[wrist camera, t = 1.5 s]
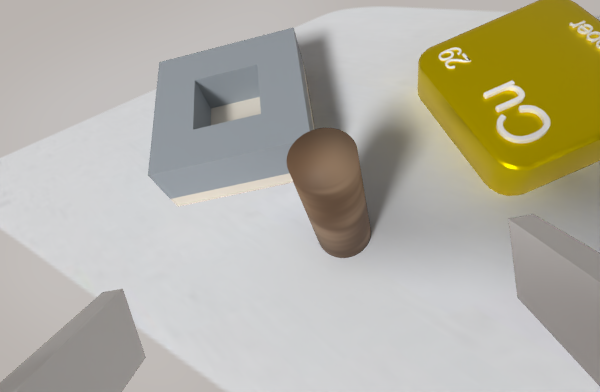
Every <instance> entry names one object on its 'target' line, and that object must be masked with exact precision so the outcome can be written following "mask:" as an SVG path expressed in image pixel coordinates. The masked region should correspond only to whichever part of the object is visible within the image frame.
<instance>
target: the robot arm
mask: <svg viewBox="0 0 600 392" xmlns="http://www.w3.org/2000/svg"><path fill="white" fill-rule="evenodd" d="M509 228H510V237H511V246H512V254H513V263H514V272H515V281H516V289H517V297H518V299H519V300H520V301H521V302H522V303H523V304H524V305H525V306H526V307H527V308H528V309H529V310H530V311H531V313H532V314H533V315H534V316H535V317H536V318H537V319H538V320H539V321H540V322H541V323H542V324H543V326H544V327H545V328H546V329H547V330H548V331H549V332H550V333H551V334H552V335H553V336H554V337H555V338H556V340H557V341H558V342H559V343H560V344H561V345H562V346H563V347H564V348H565V349H566V350H567V351H568V353H569V354H570V355H571V356H572V357H573V358H574V359H575V360H576V361H577V362H578V363H579V364H580V365H581V367H582V368H583V369H584V370H585V371H586V372H587V373H588V374H589V375H590V376H591V377H592V378H593V379H594V381H595V382H596V383H597V384H598V385H599V386H600V253H599V252H597V251H595V250H594V249H592V248H590V247H589V246H587V245H585V244H583V243H582V242H580V241H578V240H577V239H575V238H573V237H572V236H570V235H568V234H567V233H565V232H563V231H561V230H560V229H558V228H556V227H555V226H553V225H551V224H550V223H548V222H546V221H544V220H543V219H541V218H539V217H538V216H536V215H534V214H531V215H526V216H520V217H515V218H509ZM144 359H145V354H144V351H143V348H142V345H141V342H140V339H139V336H138V333H137V330H136V327H135V324H134V321H133V318H132V315H131V312H130V309H129V306H128V303H127V300H126V297H125V294H124V291H123V289H119V290H113V291H108V292H103V293H101V294H100V295H99V296H98V297H97V298H96V299H95V300H93V301H92V302H91V303H90V304H89V305H88V306H87V307H85V309H83V310H82V311H81V312H80V313H79V314H78V315H76V316H75V317H74V318H73V319H72V320H71V321H70V322H69V323H67V324H66V325H65V326H64V327H63V328H62V329H61V330H59V331H58V332H57V333H56V334H55V335H54V336H53V337H51V338H50V339H49V340H48V341H47V342H46V343H45V344H43V345H42V347H40V348H39V349H38V350H37V351H36V352H35V353H33V354H32V355H31V356H30V357H29V358H28V359H27V360H25V361H24V362H23V363H22V364H21V365H20V366H19V367H17V368H16V369H15V370H14V371H13V372H12V373H11V374H9V375H8V376H7V377H6V378H5V379H4V380H3V381H2V382H0V392H122V391H123V389H124V388H125V386H126V385H127V384H128V382H129V381H130V379H131V378H132V376H133V375H134V373H135V372H136V371H137V369H138V368H139V366H140V365H141V363H142V362H143V360H144Z"/></svg>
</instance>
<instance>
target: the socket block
mask: <svg viewBox="0 0 600 392" xmlns="http://www.w3.org/2000/svg"><path fill="white" fill-rule="evenodd" d="M312 130H315V128H314V122H313V116H312V110H311V104H310V97H309V91H308V85H307V79H306V73H305V68H304V64H303V61H302V57H301V53H300V50H299V46H298V42H297V39H296V35H295V31H294V28H290V29H287V30H282V31H278V32H275V33H271V34H267V35H263V36H259V37H255V38H251V39H248V40H244V41H240V42H236V43H232V44H228V45H225V46H221V47H217V48H213V49H209V50H206V51H201V52H197V53H194V54H190V55H186V56H182V57H178V58H174V59H170V60H166V61H163V62H160V63H159V72H158V82H157V91H156V101H155V111H154V121H153V131H152V141H151V151H150V161H149V171H148V176H149V177H150V178H151V179H152V180H153V181H154V182H155V183H156V184H157V185H158V186H159V187H160V188H161V190H162V191H163V192H164V193H165V194H166V195H167V196H168V197H169V198H170V199H171V200H172V201H173V202H174V203H175V204H176V205H177V206H178V207H179V206H184V205H188V204H193V203H198V202H202V201H207V200H212V199H217V198H221V197H226V196H231V195H235V194H240V193H245V192H250V191H254V190H259V189H264V188H269V187H273V186H278V185H283V184H287V183H292V182H293V180H292V178H291V175H290V173H289V170H288V168H287V155H288V151H289V149H290V147H291V146H292V144H293V143H294V142H295V141H296V140H297V139H298V138H299V137H300V136H302V135H303V134H305V133H307V132H309V131H312Z"/></svg>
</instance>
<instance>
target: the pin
mask: <svg viewBox="0 0 600 392" xmlns="http://www.w3.org/2000/svg"><path fill="white" fill-rule="evenodd" d="M287 168H288V170H289V173H290V175H291V178H292V180H293V182H294V185H295V187H296V189H297V192H298V194H299V196H300V199H301V201H302V203H303V206H304V208H305V210H306V213H307V215H308V217H309V220H310V222H311V224H312V227H313V229H314V231H315V234H316V236H317V238H318V241H319V243H320V245H321V247H322V248H323V249H324V250H325V251H326V252H327V253H328V254H330V255H332V256H334V257H339V258H347V257H352V256H355V255H357V254H358V253H360V252H361V251H362V250H364V248H365V247H366V246H367V244H368V243H369V240H370V236H371V229H370V222H369V217H368V211H367V205H366V199H365V193H364V187H363V181H362V175H361V169H360V163H359V157H358V151H357V146H356V144H355V142H354V140H353V139H352V138H351V137H350V136H349V135H348V134H347V133H345V132H343V131H341V130H338V129H334V128H319V129H315V130H312V131H309V132H307V133H305V134H303V135H302V136H300V137H299V138H298V139H297V140H296V141H295V142H294V143H293V144H292V146H291V147H290V149H289V151H288V155H287Z"/></svg>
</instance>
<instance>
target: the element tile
mask: <svg viewBox="0 0 600 392" xmlns="http://www.w3.org/2000/svg"><path fill="white" fill-rule="evenodd" d="M418 95H419V97H420V99H421V101H422V102H423V103H424V105H425V106H426V107H427V109H428V110H429V111H430V112H431V114H432V115H433V116H434V118H435V119H436V120H437V122H438V123H439V124H440V126H441V127H442V128H443V129H444V131H445V132H446V133H447V135H448V136H449V137H450V139H451V140H452V141H453V142H454V144H455V145H456V146H457V148H458V149H459V150H460V152H461V153H462V154H463V156H464V157H465V158H466V159H467V161H468V162H469V163H470V165H471V166H472V167H473V169H474V170H475V171H476V173H477V174H478V175H479V176H480V178H481V179H482V180H483V182H484V183H485V184H486V185H487V186H488V187H489V188H490V189H492V190H494V191H495V192H497V193H499V194H503V195H507V196H512V195H521V194H525V193H527V192H529V191H532V190H534V189H536V188H538V187H541V186H543V185H545V184H547V183H550V182H552V181H554V180H557V179H559V178H561V177H563V176H566V175H568V174H570V173H573V172H575V171H577V170H579V169H582V168H584V167H586V166H589V165H591V164H593V163H595V162H598V161H600V21H599V20H598V19H596V18H595V17H594V16H592V15H591V14H590V13H588V12H587V11H586V10H584V9H583V8H582V7H580V6H579V5H578V4H576V3H575V2H573V1H571V0H539V1H536V2H535V3H532V4H530V5H527V6H525V7H523V8H520V9H518V10H516V11H513V12H511V13H509V14H506V15H504V16H502V17H500V18H497V19H495V20H493V21H490V22H488V23H486V24H483V25H481V26H479V27H476V28H474V29H472V30H470V31H467V32H465V33H463V34H460V35H458V36H456V37H453V38H451V39H449V40H447V41H444V42H442V43H440V44H437V45H435V46H433V47H430V48H429V49H427V50H426V51H425V52H424V53H423V54H422V55H421V57H420V59H419V63H418Z"/></svg>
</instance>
